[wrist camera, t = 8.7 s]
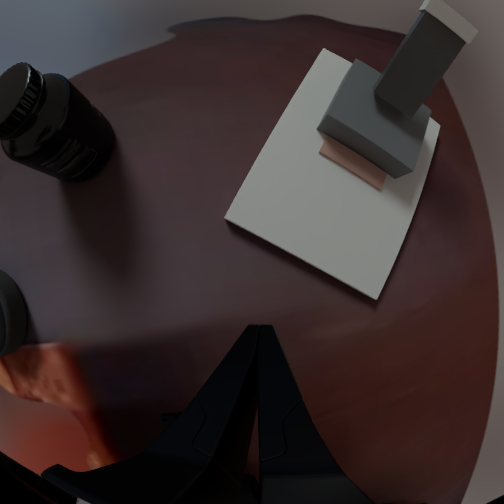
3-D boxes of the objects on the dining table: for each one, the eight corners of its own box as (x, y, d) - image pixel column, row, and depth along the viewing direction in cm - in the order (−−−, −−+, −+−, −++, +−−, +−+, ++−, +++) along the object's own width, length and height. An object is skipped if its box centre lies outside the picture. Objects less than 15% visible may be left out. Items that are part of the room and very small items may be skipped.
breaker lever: (413, 121, 18) (478, 30, 10) (371, 91, 17) (433, -6, 10) (410, 112, 19) (468, 29, 11) (370, 85, 19) (427, -4, 11)
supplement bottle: (120, 109, 22) (59, 34, 10) (112, 180, 22) (28, 133, 10) (60, 122, 21) (-12, 69, 10) (51, 188, 22) (-39, 159, 10)
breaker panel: (370, 297, 23) (394, 306, 19) (224, 219, 23) (222, 212, 18) (433, 129, 24) (457, 116, 20) (320, 54, 23) (332, 29, 19)
